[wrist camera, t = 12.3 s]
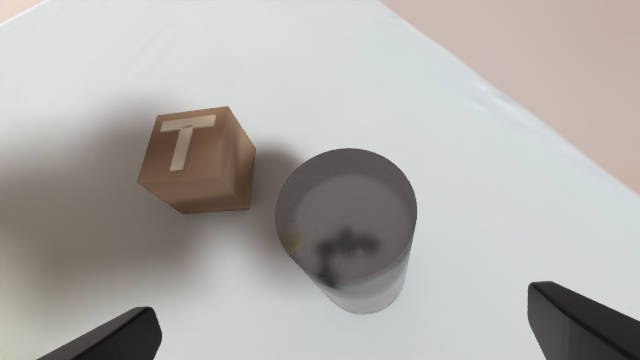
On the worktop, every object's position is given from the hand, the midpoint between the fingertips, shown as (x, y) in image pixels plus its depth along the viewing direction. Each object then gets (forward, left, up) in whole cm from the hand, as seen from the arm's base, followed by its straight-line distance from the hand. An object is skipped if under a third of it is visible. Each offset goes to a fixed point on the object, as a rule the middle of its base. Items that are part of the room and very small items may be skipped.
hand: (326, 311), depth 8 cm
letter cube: (+11, +10, -11) cm, 18 cm away
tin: (+4, 0, -11) cm, 12 cm away
